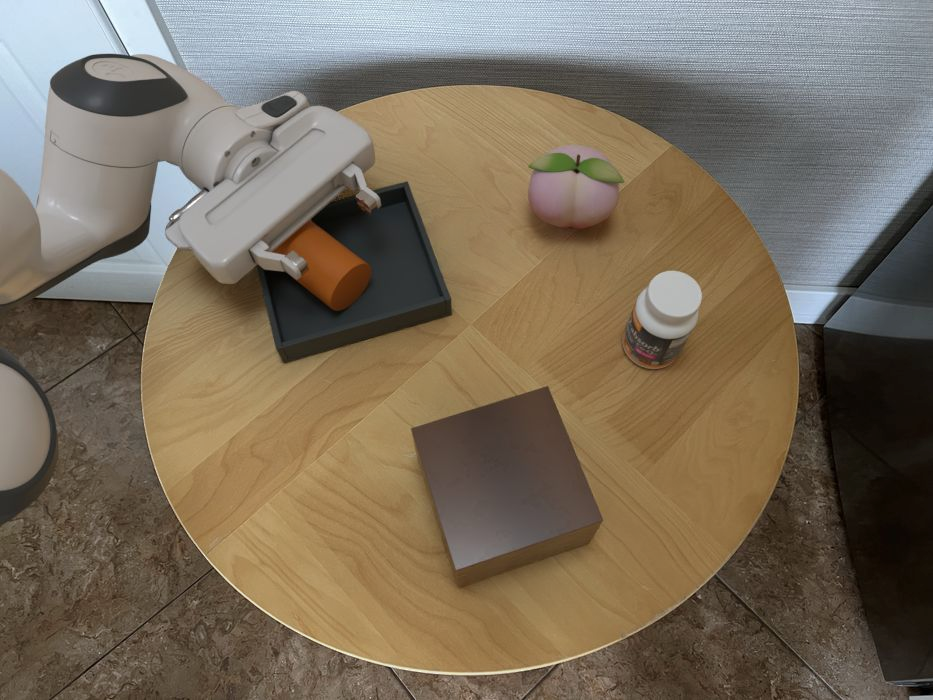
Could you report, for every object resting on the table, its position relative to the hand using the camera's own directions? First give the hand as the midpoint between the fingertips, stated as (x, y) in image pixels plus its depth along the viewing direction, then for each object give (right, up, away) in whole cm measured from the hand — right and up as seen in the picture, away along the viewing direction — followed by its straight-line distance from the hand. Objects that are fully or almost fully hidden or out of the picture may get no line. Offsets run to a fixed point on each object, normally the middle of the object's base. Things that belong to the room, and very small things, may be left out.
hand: (339, 238), depth 69 cm
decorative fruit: (+22, +4, +12) cm, 26 cm away
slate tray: (0, -3, +8) cm, 9 cm away
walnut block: (+15, -24, -2) cm, 28 cm away
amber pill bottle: (0, -4, +4) cm, 6 cm away
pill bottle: (+30, -10, +5) cm, 32 cm away
